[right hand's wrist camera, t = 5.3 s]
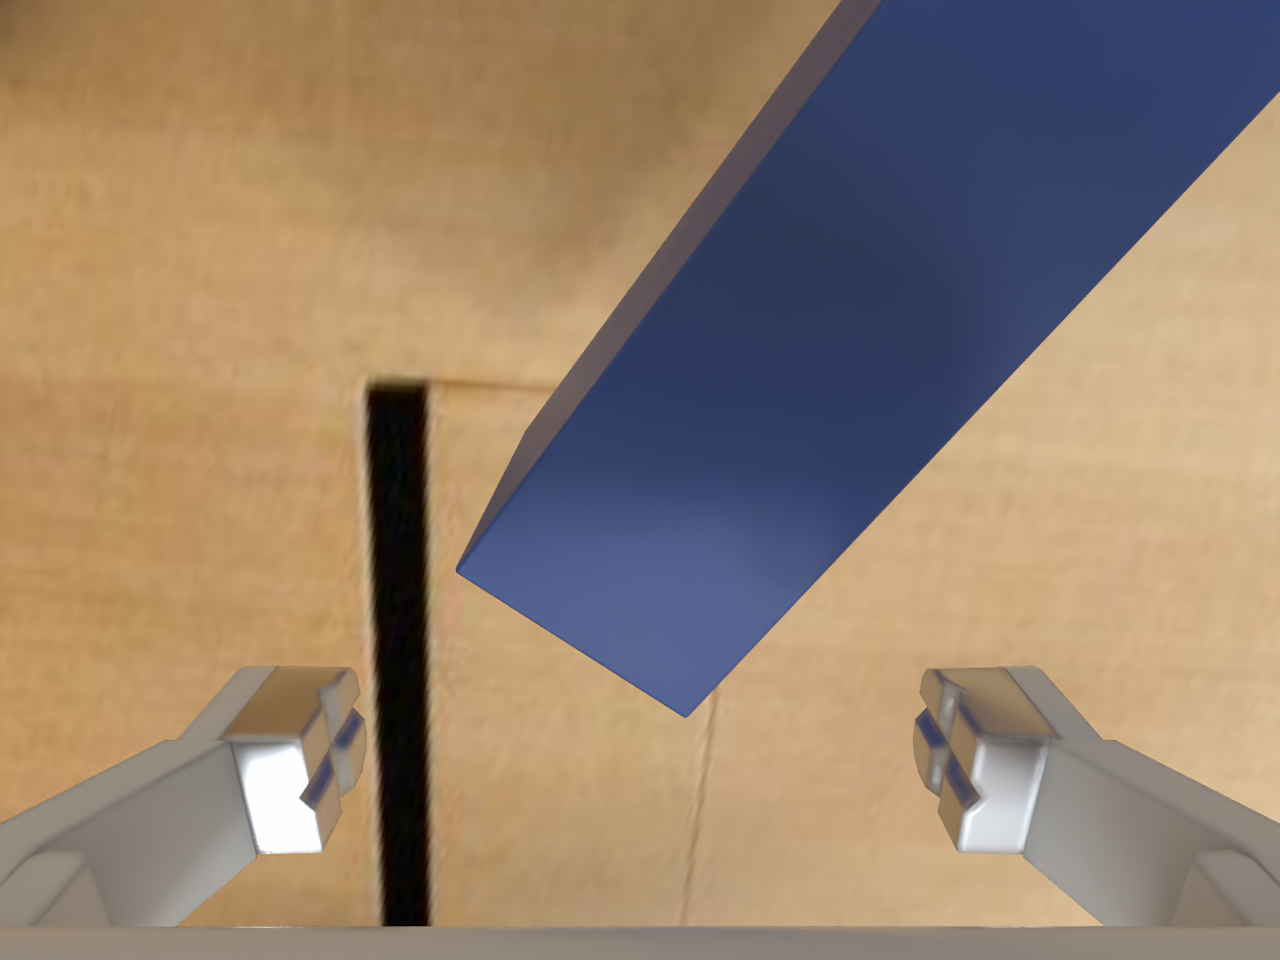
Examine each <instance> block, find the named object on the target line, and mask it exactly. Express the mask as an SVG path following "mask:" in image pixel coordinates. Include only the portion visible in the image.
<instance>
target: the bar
mask: <svg viewBox="0 0 1280 960" xmlns="http://www.w3.org/2000/svg"><path fill="white" fill-rule="evenodd" d="M1279 92H1280V0H842V1H841V2H840V3H839V5H838V6H837V7H836V9H835V10H834V11H833V13H832V14H831V15H830V17H829V18H828V20H827V21H826V22H825V24H824V25H823V26H822V28H821V29H820V30H819V32H818V33H817V35H816V36H815V37H814V39H813V40H812V41H811V43H810V44H809V45H808V47H807V48H806V50H805V51H804V52H803V54H802V55H801V56H800V58H799V59H798V60H797V62H796V63H795V65H794V66H793V67H792V69H791V70H790V71H789V73H788V74H787V75H786V77H785V78H784V80H783V81H782V82H781V84H780V85H779V86H778V88H777V89H776V90H775V92H774V93H773V95H772V96H771V97H770V99H769V100H768V101H767V103H766V104H765V105H764V107H763V108H762V109H761V111H760V112H759V114H758V115H757V116H756V118H755V119H754V120H753V122H752V123H751V124H750V126H749V127H748V129H747V130H746V131H745V133H744V134H743V135H742V137H741V138H740V139H739V141H738V142H737V144H736V145H735V146H734V148H733V149H732V150H731V152H730V153H729V154H728V156H727V157H726V159H725V160H724V161H723V163H722V164H721V165H720V167H719V168H718V169H717V171H716V172H715V174H714V175H713V176H712V178H711V179H710V180H709V182H708V183H707V184H706V186H705V187H704V189H703V190H702V191H701V193H700V194H699V195H698V197H697V198H696V199H695V201H694V202H693V204H692V205H691V206H690V208H689V209H688V210H687V212H686V213H685V214H684V216H683V217H682V218H681V220H680V221H679V223H678V224H677V225H676V227H675V228H674V229H673V231H672V232H671V233H670V235H669V236H668V238H667V239H666V240H665V242H664V243H663V244H662V246H661V247H660V248H659V250H658V251H657V253H656V254H655V255H654V257H653V258H652V259H651V261H650V262H649V263H648V265H647V266H646V268H645V269H644V270H643V272H642V273H641V274H640V276H639V277H638V278H637V280H636V281H635V283H634V284H633V285H632V287H631V288H630V289H629V291H628V292H627V293H626V295H625V296H624V298H623V299H622V300H621V302H620V303H619V304H618V306H617V307H616V308H615V310H614V311H613V312H612V314H611V315H610V317H609V318H608V319H607V321H606V322H605V323H604V325H603V326H602V327H601V329H600V330H599V332H598V333H597V334H596V336H595V337H594V338H593V340H592V341H591V342H590V344H589V345H588V347H587V348H586V349H585V351H584V352H583V353H582V355H581V356H580V357H579V359H578V360H577V362H576V363H575V364H574V366H573V367H572V368H571V370H570V371H569V372H568V374H567V375H566V377H565V378H564V379H563V381H562V382H561V383H560V385H559V386H558V387H557V389H556V390H555V392H554V393H553V394H552V396H551V397H550V398H549V400H548V401H547V402H546V404H545V405H544V407H543V408H542V409H541V411H540V412H539V413H538V415H537V416H536V417H535V419H534V420H533V421H532V423H531V424H530V426H529V427H528V428H527V430H526V431H525V433H524V435H523V437H522V439H521V441H520V443H519V445H518V447H517V449H516V451H515V453H514V455H513V457H512V459H511V461H510V462H509V464H508V466H507V468H506V470H505V472H504V474H503V476H502V478H501V480H500V482H499V484H498V486H497V488H496V490H495V492H494V494H493V496H492V498H491V500H490V502H489V504H488V506H487V508H486V510H485V512H484V514H483V516H482V518H481V520H480V521H479V523H478V525H477V527H476V529H475V531H474V533H473V535H472V537H471V539H470V541H469V543H468V545H467V547H466V549H465V551H464V553H463V555H462V557H461V559H460V561H459V563H458V565H457V567H456V572H457V573H458V574H459V575H461V576H463V577H464V578H466V579H467V580H469V581H470V582H472V583H474V584H475V585H477V586H478V587H480V588H481V589H483V590H485V591H486V592H488V593H489V594H491V595H492V596H494V597H496V598H497V599H499V600H500V601H502V602H503V603H505V604H507V605H508V606H510V607H511V608H513V609H514V610H516V611H518V612H519V613H521V614H522V615H524V616H525V617H527V618H529V619H530V620H532V621H533V622H535V623H536V624H538V625H540V626H541V627H543V628H544V629H546V630H547V631H549V632H551V633H552V634H554V635H555V636H557V637H558V638H560V639H562V640H563V641H565V642H566V643H568V644H569V645H571V646H573V647H574V648H576V649H577V650H579V651H580V652H582V653H584V654H585V655H587V656H588V657H590V658H591V659H593V660H595V661H596V662H598V663H599V664H601V665H602V666H604V667H606V668H607V669H609V670H610V671H612V672H613V673H615V674H617V675H618V676H620V677H621V678H623V679H624V680H626V681H628V682H629V683H631V684H632V685H634V686H635V687H637V688H639V689H640V690H642V691H643V692H645V693H646V694H648V695H650V696H651V697H653V698H654V699H656V700H657V701H659V702H661V703H662V704H664V705H665V706H667V707H668V708H670V709H672V710H673V711H675V712H676V713H678V714H679V715H681V716H683V717H685V718H686V717H688V716H689V715H690V714H691V713H692V712H693V711H694V710H695V709H696V708H697V706H698V705H699V704H700V703H701V702H702V701H703V700H704V699H705V698H706V697H707V696H708V695H709V694H710V693H711V692H712V691H713V690H714V689H715V687H716V686H717V685H718V684H719V683H720V682H721V681H722V680H723V679H724V678H725V677H726V676H727V675H728V674H729V673H730V672H731V671H732V669H733V668H734V667H735V666H736V665H737V664H738V663H739V662H740V661H741V660H742V659H743V658H744V657H745V656H746V655H747V654H748V653H749V652H750V650H751V649H752V648H753V647H754V646H755V645H756V644H757V643H758V642H759V641H760V640H761V639H762V638H763V637H764V636H765V635H766V634H767V633H768V631H769V630H770V629H771V628H772V627H773V626H774V625H775V624H776V623H777V622H778V621H779V620H780V619H781V618H782V617H783V616H784V615H785V613H786V612H787V611H788V610H789V609H790V608H791V607H792V606H793V605H794V604H795V603H796V602H797V601H798V600H799V599H800V598H801V597H802V596H803V594H804V593H805V592H806V591H807V590H808V589H809V588H810V587H811V586H812V585H813V584H814V583H815V582H816V581H817V580H818V579H819V578H820V577H821V575H822V574H823V573H824V572H825V571H826V570H827V569H828V568H829V567H830V566H831V565H832V564H833V563H834V562H835V561H836V560H837V559H838V557H839V556H840V555H841V554H842V553H843V552H844V551H845V550H846V549H847V548H848V547H849V546H850V545H851V544H852V543H853V542H854V541H855V540H856V538H857V537H858V536H859V535H860V534H861V533H862V532H863V531H864V530H865V529H866V528H867V527H868V526H869V525H870V524H871V523H872V522H873V521H874V519H875V518H876V517H877V516H878V515H879V514H880V513H881V512H882V511H883V510H884V509H885V508H886V507H887V506H888V505H889V504H890V503H891V501H892V500H893V499H894V498H895V497H896V496H897V495H898V494H899V493H900V492H901V491H902V490H903V489H904V488H905V487H906V486H907V485H908V484H909V482H910V481H911V480H912V479H913V478H914V477H915V476H916V475H917V474H918V473H919V472H920V471H921V470H922V469H923V468H924V467H925V466H926V465H927V463H928V462H929V461H930V460H931V459H932V458H933V457H934V456H935V455H936V454H937V453H938V452H939V451H940V450H941V449H942V448H943V447H944V445H945V444H946V443H947V442H948V441H949V440H950V439H951V438H952V437H953V436H954V435H955V434H956V433H957V432H958V431H959V430H960V429H961V428H962V426H963V425H964V424H965V423H966V422H967V421H968V420H969V419H970V418H971V417H972V416H973V415H974V414H975V413H976V412H977V411H978V410H979V409H980V407H981V406H982V405H983V404H984V403H985V402H986V401H987V400H988V399H989V398H990V397H991V396H992V395H993V394H994V393H995V392H996V391H997V389H998V388H999V387H1000V386H1001V385H1002V384H1003V383H1004V382H1005V381H1006V380H1007V379H1008V378H1009V377H1010V376H1011V375H1012V374H1013V373H1014V372H1015V370H1016V369H1017V368H1018V367H1019V366H1020V365H1021V364H1022V363H1023V362H1024V361H1025V360H1026V359H1027V358H1028V357H1029V356H1030V355H1031V354H1032V352H1033V351H1034V350H1035V349H1036V348H1037V347H1038V346H1039V345H1040V344H1041V343H1042V342H1043V341H1044V340H1045V339H1046V338H1047V337H1048V336H1049V335H1050V333H1051V332H1052V331H1053V330H1054V329H1055V328H1056V327H1057V326H1058V325H1059V324H1060V323H1061V322H1062V321H1063V320H1064V319H1065V318H1066V317H1067V316H1068V314H1069V313H1070V312H1071V311H1072V310H1073V309H1074V308H1075V307H1076V306H1077V305H1078V304H1079V303H1080V302H1081V301H1082V300H1083V299H1084V298H1085V296H1086V295H1087V294H1088V293H1089V292H1090V291H1091V290H1092V289H1093V288H1094V287H1095V286H1096V285H1097V284H1098V283H1099V282H1100V281H1101V280H1102V279H1103V277H1104V276H1105V275H1106V274H1107V273H1108V272H1109V271H1110V270H1111V269H1112V268H1113V267H1114V266H1115V265H1116V264H1117V263H1118V262H1119V261H1120V260H1121V258H1122V257H1123V256H1124V255H1125V254H1126V253H1127V252H1128V251H1129V250H1130V249H1131V248H1132V247H1133V246H1134V245H1135V244H1136V243H1137V242H1138V240H1139V239H1140V238H1141V237H1142V236H1143V235H1144V234H1145V233H1146V232H1147V231H1148V230H1149V229H1150V228H1151V227H1152V226H1153V225H1154V224H1155V223H1156V221H1157V220H1158V219H1159V218H1160V217H1161V216H1162V215H1163V214H1164V213H1165V212H1166V211H1167V210H1168V209H1169V208H1170V207H1171V206H1172V205H1173V204H1174V202H1175V201H1176V200H1177V199H1178V198H1179V197H1180V196H1181V195H1182V194H1183V193H1184V192H1185V191H1186V190H1187V189H1188V188H1189V187H1190V186H1191V184H1192V183H1193V182H1194V181H1195V180H1196V179H1197V178H1198V177H1199V176H1200V175H1201V174H1202V173H1203V172H1204V171H1205V170H1206V169H1207V168H1208V167H1209V165H1210V164H1211V163H1212V162H1213V161H1214V160H1215V159H1216V158H1217V157H1218V156H1219V155H1220V154H1221V153H1222V152H1223V151H1224V150H1225V149H1226V148H1227V146H1228V145H1229V144H1230V143H1231V142H1232V141H1233V140H1234V139H1235V138H1236V137H1237V136H1238V135H1239V134H1240V133H1241V132H1242V131H1243V130H1244V128H1245V127H1246V126H1247V125H1248V124H1249V123H1250V122H1251V121H1252V120H1253V119H1254V118H1255V117H1256V116H1257V115H1258V114H1259V113H1260V112H1261V111H1262V109H1263V108H1264V107H1265V106H1266V105H1267V104H1268V103H1269V102H1270V101H1271V100H1272V99H1273V98H1274V97H1275V96H1276V95H1277V94H1278V93H1279Z"/></svg>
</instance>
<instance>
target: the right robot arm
mask: <svg viewBox="0 0 1280 960" xmlns="http://www.w3.org/2000/svg"><path fill="white" fill-rule="evenodd" d="M359 695H360V688H359V683H358V678H357V673H356V672H355V671H354V670H353V669H351V668H348V667H301V666H282V667H279V666H247V667H244V668H241V669H239V670H238V671H237V672H236V673H235V674H234V675H233V676H232V677H231V679H230V680H229V681H228V682H227V683H226V684H225V685H224V687H223V688H222V689H221V690H220V691H219V692H218V693H217V695H216V696H215V697H214V698H213V699H212V700H211V701H210V703H209V704H208V705H207V706H206V707H205V708H204V709H203V711H202V712H201V713H200V714H199V715H198V716H197V717H196V718H195V720H194V721H193V722H192V723H191V724H190V725H189V726H188V728H187V729H186V730H185V731H184V732H183V733H182V734H181V736H180V737H179V738H178V739H177V740H164V741H162V742H160V743H158V744H156V745H154V746H152V747H150V748H148V749H146V750H144V751H143V752H141V753H139V754H137V755H135V756H133V757H131V758H129V759H127V760H125V761H123V762H121V763H119V764H117V765H115V766H113V767H111V768H109V769H107V770H105V771H103V772H101V773H99V774H97V775H95V776H93V777H91V778H89V779H87V780H85V781H83V782H81V783H79V784H77V785H75V786H73V787H71V788H69V789H67V790H65V791H63V792H62V793H60V794H58V795H56V796H54V797H52V798H50V799H48V800H46V801H44V802H42V803H40V804H38V805H36V806H34V807H32V808H30V809H28V810H26V811H24V812H22V813H20V814H18V815H16V816H14V817H12V818H10V819H8V820H6V821H4V822H2V823H0V960H1280V824H1279V823H1277V822H1275V821H1273V820H1271V819H1269V818H1267V817H1265V816H1264V815H1262V814H1260V813H1258V812H1256V811H1254V810H1252V809H1250V808H1248V807H1246V806H1244V805H1242V804H1240V803H1238V802H1236V801H1234V800H1232V799H1230V798H1228V797H1226V796H1224V795H1222V794H1220V793H1218V792H1216V791H1214V790H1212V789H1210V788H1208V787H1206V786H1204V785H1202V784H1200V783H1199V782H1197V781H1195V780H1193V779H1191V778H1189V777H1187V776H1185V775H1183V774H1181V773H1179V772H1177V771H1175V770H1173V769H1171V768H1169V767H1167V766H1165V765H1163V764H1161V763H1159V762H1157V761H1155V760H1153V759H1151V758H1149V757H1147V756H1145V755H1143V754H1141V753H1139V752H1137V751H1135V750H1133V749H1132V748H1130V747H1128V746H1126V745H1124V744H1122V743H1120V742H1118V741H1116V740H1103V739H1102V738H1101V737H1100V736H1099V734H1098V733H1097V732H1096V731H1095V730H1094V729H1093V728H1092V726H1091V725H1090V724H1089V723H1088V722H1087V721H1086V720H1085V719H1084V717H1083V716H1082V715H1081V714H1080V713H1079V712H1078V711H1077V709H1076V708H1075V707H1074V706H1073V705H1072V704H1071V703H1070V701H1069V700H1068V699H1067V698H1066V697H1065V696H1064V695H1063V693H1062V692H1061V691H1060V690H1059V689H1058V688H1057V687H1056V685H1055V684H1054V683H1053V682H1052V681H1051V680H1050V679H1049V677H1048V676H1047V675H1046V674H1045V673H1044V672H1043V671H1042V670H1041V669H1039V668H1037V667H1035V666H1002V667H992V668H927V669H926V671H925V673H924V675H923V677H922V682H921V687H920V695H921V697H922V698H923V700H924V702H925V704H926V705H927V708H926V709H925V710H924V711H923V712H922V713H921V714H920V715H919V716H918V717H917V718H916V719H915V726H914V735H913V745H914V756H915V761H916V765H917V768H918V772H919V775H920V777H921V779H922V781H923V783H924V785H925V787H926V788H927V789H928V790H930V791H931V792H933V793H934V794H935V795H937V796H938V797H940V803H939V809H938V814H939V816H940V818H941V820H942V822H943V824H944V826H945V828H946V830H947V832H948V834H949V836H950V838H951V840H952V842H953V844H954V846H955V848H956V850H957V852H964V853H1000V854H1024V856H1023V858H1025V859H1026V860H1027V861H1028V862H1029V863H1031V864H1032V865H1033V866H1034V867H1035V868H1036V869H1038V870H1039V871H1040V872H1041V873H1042V874H1044V875H1045V876H1046V877H1047V878H1048V879H1049V880H1051V881H1052V882H1053V883H1054V884H1055V885H1057V886H1058V887H1059V888H1060V889H1061V890H1062V891H1064V892H1065V893H1066V894H1067V895H1068V896H1069V897H1071V898H1072V899H1073V900H1074V901H1075V902H1077V903H1078V904H1079V905H1080V906H1081V907H1082V908H1084V909H1085V910H1086V911H1087V912H1088V913H1090V914H1091V915H1092V916H1093V917H1094V918H1095V919H1097V920H1098V921H1099V922H1100V923H1101V924H1103V925H1104V926H1078V927H838V926H686V927H175V926H176V925H178V924H179V923H180V922H181V921H182V920H184V919H185V918H186V917H187V916H188V915H189V914H191V913H192V912H193V911H194V910H195V909H197V908H198V907H199V906H200V905H201V904H202V903H204V902H205V901H206V900H207V899H208V898H210V897H211V896H212V895H213V894H214V893H215V892H217V891H218V890H219V889H220V888H221V887H223V886H224V885H225V884H226V883H227V882H229V881H230V880H231V879H232V878H233V877H234V876H236V875H237V874H238V873H239V872H240V871H242V870H243V869H244V868H245V867H246V866H247V865H249V864H250V863H251V862H252V861H253V860H255V859H256V857H257V856H256V854H279V853H314V852H323V850H324V848H325V846H326V844H327V842H328V840H329V838H330V836H331V834H332V832H333V830H334V828H335V826H336V824H337V822H338V820H339V818H340V816H341V814H342V809H341V803H340V797H342V796H343V795H345V794H346V793H347V792H349V791H350V790H352V789H353V788H354V787H355V785H356V783H357V781H358V779H359V777H360V774H361V772H362V769H363V764H364V759H365V755H366V747H367V732H366V725H365V719H364V718H363V717H362V716H361V715H360V714H359V713H358V712H357V711H356V710H355V709H354V708H353V705H354V704H355V702H356V700H357V698H358V697H359Z"/></svg>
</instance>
